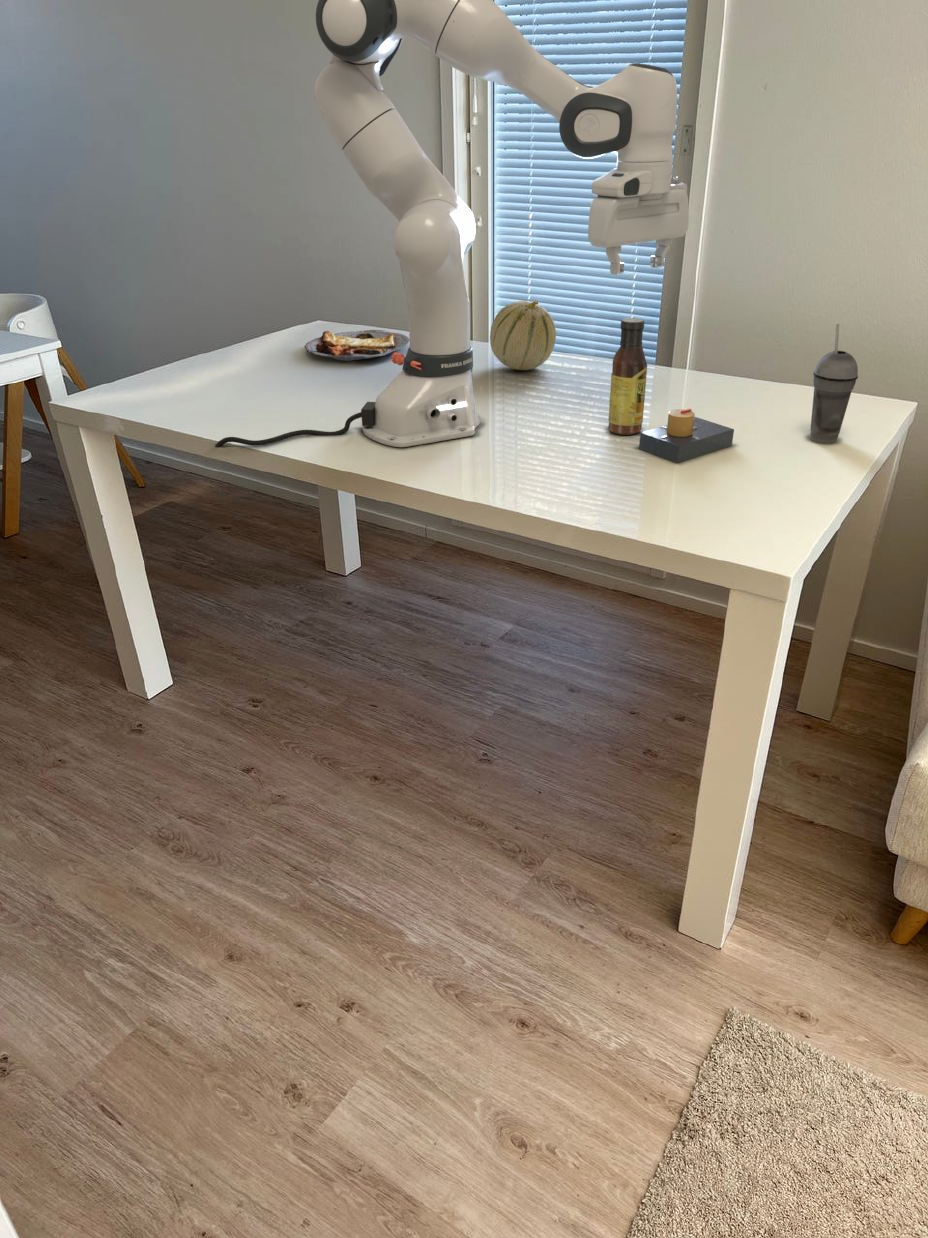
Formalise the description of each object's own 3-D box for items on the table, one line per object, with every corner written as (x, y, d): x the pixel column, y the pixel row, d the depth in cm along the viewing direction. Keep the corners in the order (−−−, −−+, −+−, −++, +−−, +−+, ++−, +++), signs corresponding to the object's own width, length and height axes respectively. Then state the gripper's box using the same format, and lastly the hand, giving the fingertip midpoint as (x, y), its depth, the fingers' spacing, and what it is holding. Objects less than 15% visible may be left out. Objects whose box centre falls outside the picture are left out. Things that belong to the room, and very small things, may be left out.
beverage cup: (839, 449, 160) (863, 331, 150) (797, 442, 163) (817, 326, 153) (849, 436, 165) (872, 322, 155) (807, 430, 168) (828, 317, 158)
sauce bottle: (641, 437, 167) (650, 324, 157) (606, 435, 168) (613, 323, 158) (642, 425, 172) (651, 316, 162) (608, 424, 173) (616, 315, 163)
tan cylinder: (680, 438, 157) (682, 417, 155) (661, 432, 160) (663, 410, 158) (697, 433, 159) (700, 411, 157) (678, 426, 162) (680, 405, 160)
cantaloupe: (493, 359, 214) (493, 292, 207) (556, 360, 213) (558, 293, 205) (485, 377, 202) (485, 306, 194) (553, 378, 200) (555, 307, 192)
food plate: (292, 363, 215) (291, 347, 213) (322, 338, 234) (321, 324, 233) (397, 366, 211) (396, 350, 209) (418, 341, 231) (417, 327, 229)
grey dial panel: (677, 463, 155) (679, 445, 154) (638, 448, 161) (640, 431, 160) (732, 445, 162) (734, 428, 161) (693, 432, 169) (695, 415, 167)
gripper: (673, 174, 156) (665, 260, 163) (583, 183, 146) (580, 275, 153) (701, 176, 152) (693, 265, 159) (611, 186, 142) (606, 280, 148)
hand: (636, 270), depth 156 cm, fingers open, 8 cm apart
